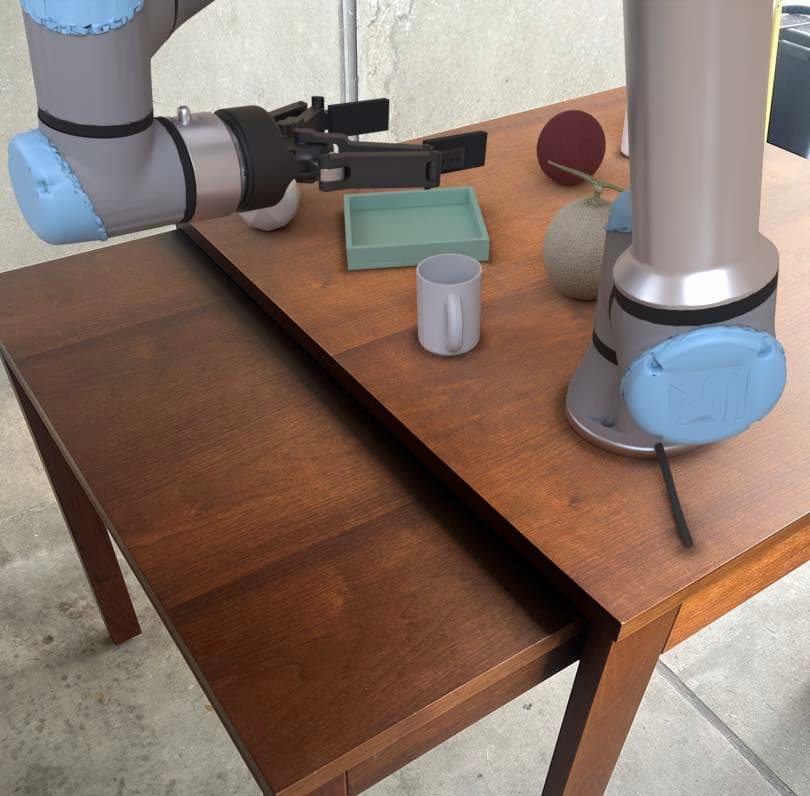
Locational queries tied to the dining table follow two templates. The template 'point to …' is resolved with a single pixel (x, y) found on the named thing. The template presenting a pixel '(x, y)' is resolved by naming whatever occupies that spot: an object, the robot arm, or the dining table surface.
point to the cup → (449, 303)
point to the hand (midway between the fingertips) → (432, 130)
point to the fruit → (578, 241)
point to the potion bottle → (275, 211)
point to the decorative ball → (571, 146)
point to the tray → (413, 227)
